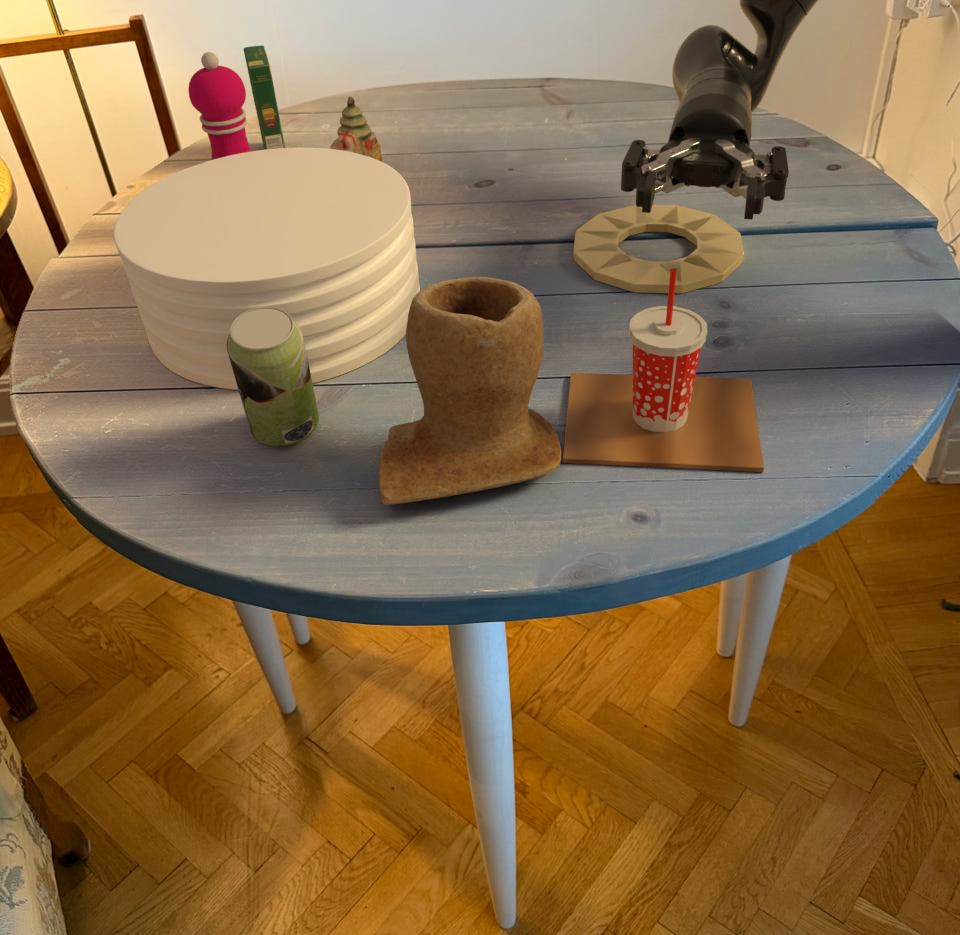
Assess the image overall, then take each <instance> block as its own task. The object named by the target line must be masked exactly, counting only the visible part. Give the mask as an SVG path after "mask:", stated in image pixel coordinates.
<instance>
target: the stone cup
mask: <svg viewBox="0 0 960 935" xmlns="http://www.w3.org/2000/svg"><path fill="white" fill-rule="evenodd" d="M542 312H543V311H542V308H541V304H540V302H539V301H538V299H537V298H536V297H535V295H534V293H532V292H531V291H530V290H528V288H526V287H524V286H522V285H520V284H519V283H516V282H513V281H510V280H506V279H500V278H496V277H487V276H467V277H466V276H465V277H458V278H452V279H446V280H443V281H440V282H436V283H432V284H430V285H428V286H426V287H424V288H422V289H420V292H418V293H417V294H416V296H415V297H414V298H413V299H412V302H411V305H410V309H409V313H408V321H407V328H406V335H405V342H406V343H405V345H406V349H407V355H408V359H409V362H410V366H411V369H412V371H413V375H414V378H415V381H416V385H417V387H418V390H419V394H420V396H421V400H422V405H423V416H422V417H421V419H418V420H415V421H411V422H406V423H400V424H396V425H393V426H391V427H390V428H389V429H388V435H387V440H386V441H385V442H384V443H383V446H382V448H380V452H379V463H378V465H379V466H378V490H379V493H380V496H381V502H382V504H383V505H385V506H386V505H398V504H408V503H415V502H420V501H428V500H434V499H440V498H448V497H453V496H458V495H464V494H465V495H466V494H471V493H476V492H481V491H486V490H492V489H497V488H502V487H505V486H509V485H514V484H518V483H523V482H527V481H531V480H535V479H538V478H541V477H545V476H546V475H549V474H551V473H553V472H554V471H556V470H557V469H558V468H559V466H560V465H561V461H562V448H561V444H560V443H561V442H560V440H559V436H558V434H557V432H556V430H555V429H554V427H553V425H552V424H551V423H550V422H549V420H547V419H546V418H545V417H544V416H543V415H541V414H540V413H539V412H537V411H535V410H534V409H531V408H529V404H530V399H531V395H532V392H533V389H534V387H535V384H536V382H537V379H538V375H539V373H540V369H541V366H542V359H543V355H544V321H543V320H544V319H543V313H542Z"/></svg>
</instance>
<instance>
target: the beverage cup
mask: <svg viewBox="0 0 960 935" xmlns="http://www.w3.org/2000/svg"><path fill="white" fill-rule="evenodd" d="M676 273H677V269H675V268H672V269H671V270H670V281H669V291H668V293H667V303H666V305H659V306H654V307H648V308H645V309H643V310H641V311H639V312H637V313H635V314H634V316H633V317H632V318H631V319H630V320H629V339H630V341H631V342H632V375H633V419H634V420H635V422H636V423H637V424H638V425H639V426H641V427H642V428H644V429H646V430H650V431H653V432H670V431H674V430H677V429H678V428H680V427H682V426H683V425H684V423H685V422H686V420H687V416H688V411H689V406H690V401H691V396H692V391H693V386H694V381H695V377H697V370H698V366H699V361H700V356H701V350H702V347H703V346H704V344H705V343H706V340H707V336H708V323H707V322H706V321H705V319H704V318H703V317H702V316H701V315H700V314H698V313H696V312H694V311H692V310H690V309H689V308H688V309H687V308H684V307H679V306H675V305H674V304H675V294H676V293H675V284H676Z"/></svg>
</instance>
